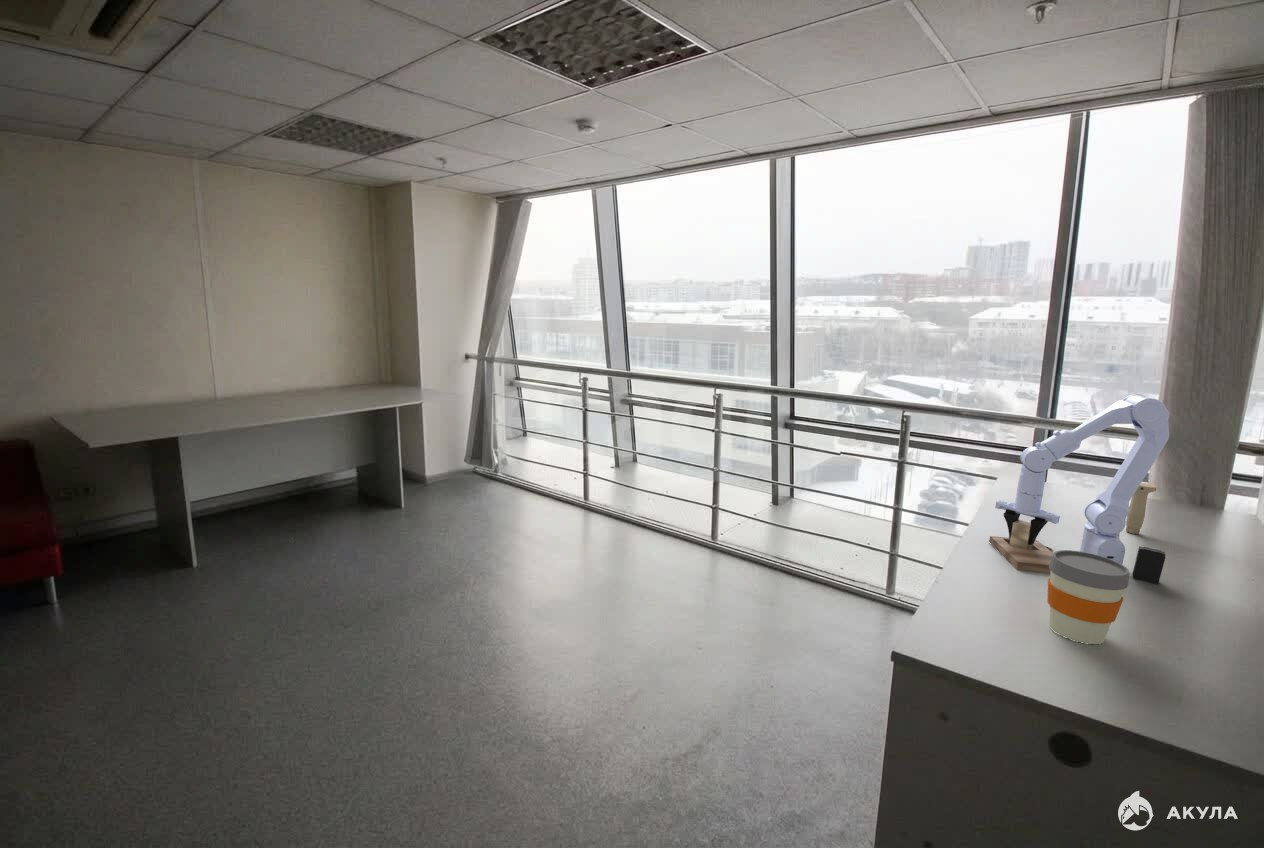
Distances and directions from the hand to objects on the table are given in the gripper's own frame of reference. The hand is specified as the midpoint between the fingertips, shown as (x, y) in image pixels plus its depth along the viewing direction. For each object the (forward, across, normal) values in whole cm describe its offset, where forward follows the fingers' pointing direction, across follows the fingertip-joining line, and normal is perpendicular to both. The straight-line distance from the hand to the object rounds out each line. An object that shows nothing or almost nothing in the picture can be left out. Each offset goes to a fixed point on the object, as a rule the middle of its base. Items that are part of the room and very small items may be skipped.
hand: (1021, 541), depth 163 cm
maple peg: (+2, 0, 0) cm, 2 cm away
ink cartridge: (+3, -25, -7) cm, 26 cm away
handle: (+3, -13, -48) cm, 49 cm away
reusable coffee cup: (+3, -24, +38) cm, 45 cm away
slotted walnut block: (+3, -3, +3) cm, 5 cm away
